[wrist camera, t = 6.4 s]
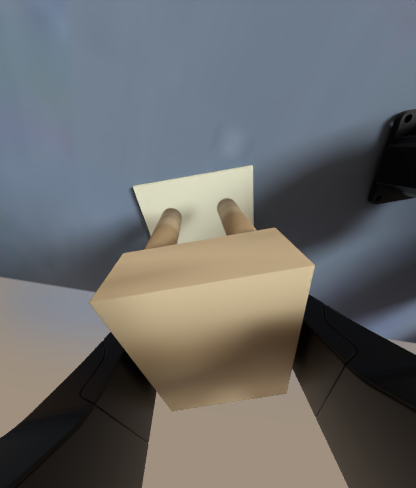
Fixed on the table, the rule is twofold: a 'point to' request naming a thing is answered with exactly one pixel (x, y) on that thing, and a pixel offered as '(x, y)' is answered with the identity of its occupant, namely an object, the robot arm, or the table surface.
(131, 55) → the table surface
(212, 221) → the mat
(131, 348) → the tan block with pegs
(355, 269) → the table surface
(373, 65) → the table surface
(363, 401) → the robot arm
